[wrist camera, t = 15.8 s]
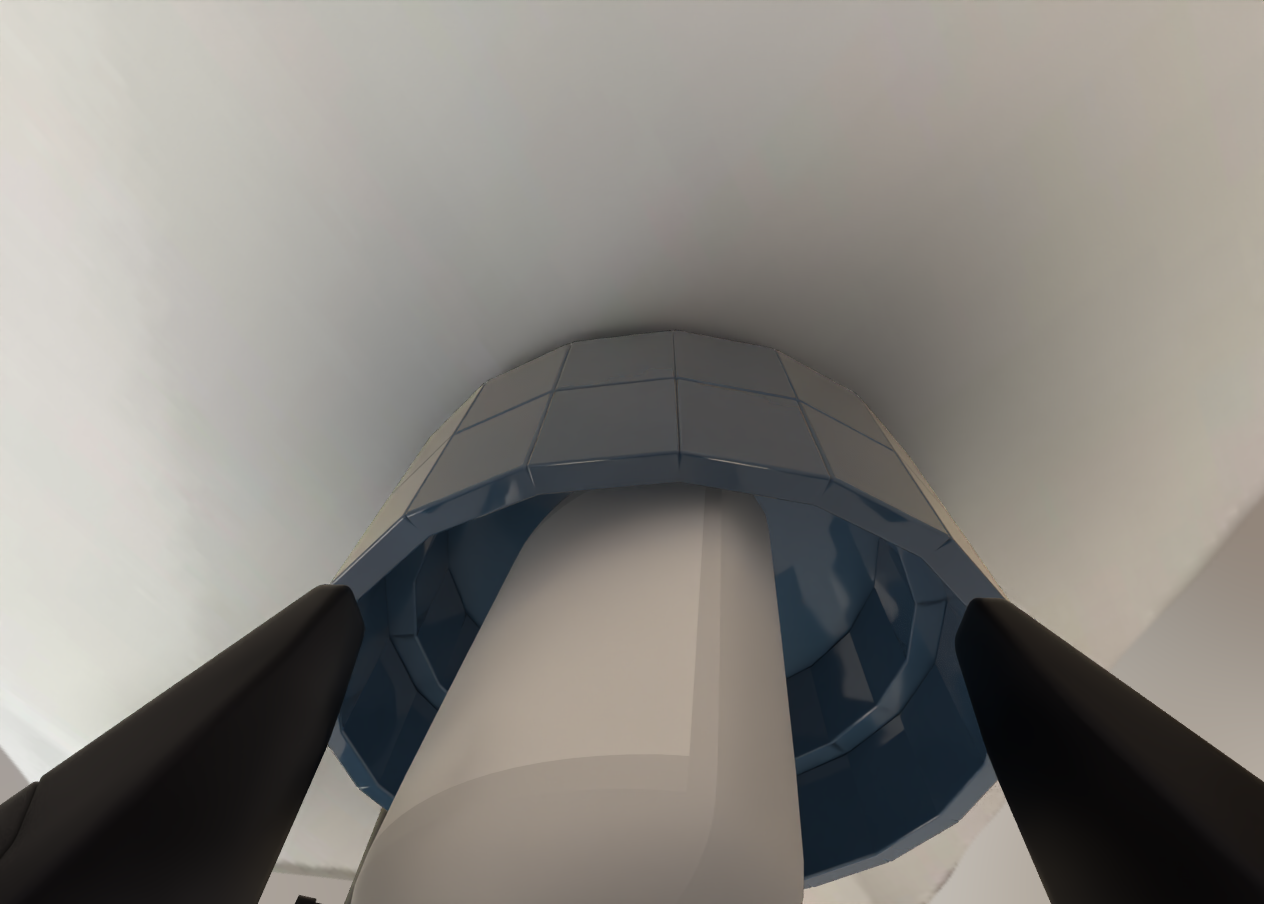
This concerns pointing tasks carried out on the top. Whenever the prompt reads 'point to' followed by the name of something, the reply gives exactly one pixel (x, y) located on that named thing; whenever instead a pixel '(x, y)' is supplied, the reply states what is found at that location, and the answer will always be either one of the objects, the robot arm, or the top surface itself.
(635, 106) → the top surface
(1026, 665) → the robot arm
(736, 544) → the eye dropper bottle
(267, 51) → the top surface
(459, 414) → the bowl
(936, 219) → the top surface
